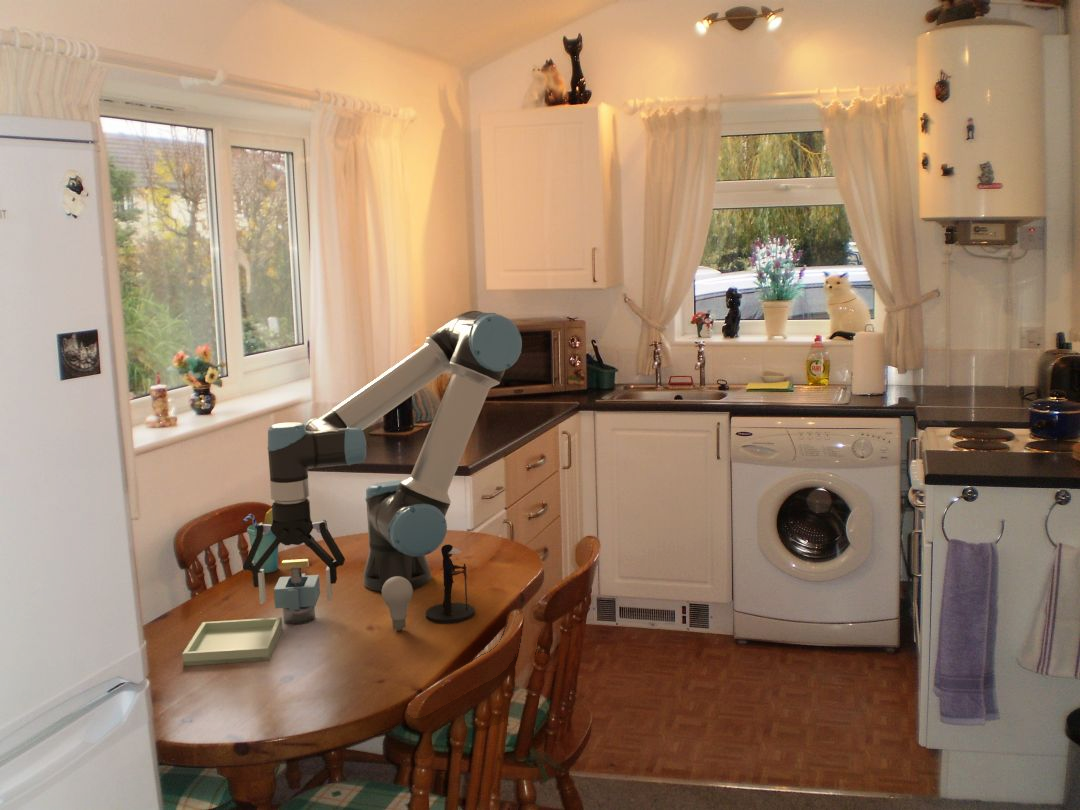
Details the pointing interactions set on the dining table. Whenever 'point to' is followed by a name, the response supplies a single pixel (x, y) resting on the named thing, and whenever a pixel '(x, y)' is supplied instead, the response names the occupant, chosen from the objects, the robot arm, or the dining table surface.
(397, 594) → the lightbulb
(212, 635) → the tray
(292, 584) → the grey stamp
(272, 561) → the cup
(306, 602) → the slotted blue block
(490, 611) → the dining table surface
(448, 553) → the figurine
